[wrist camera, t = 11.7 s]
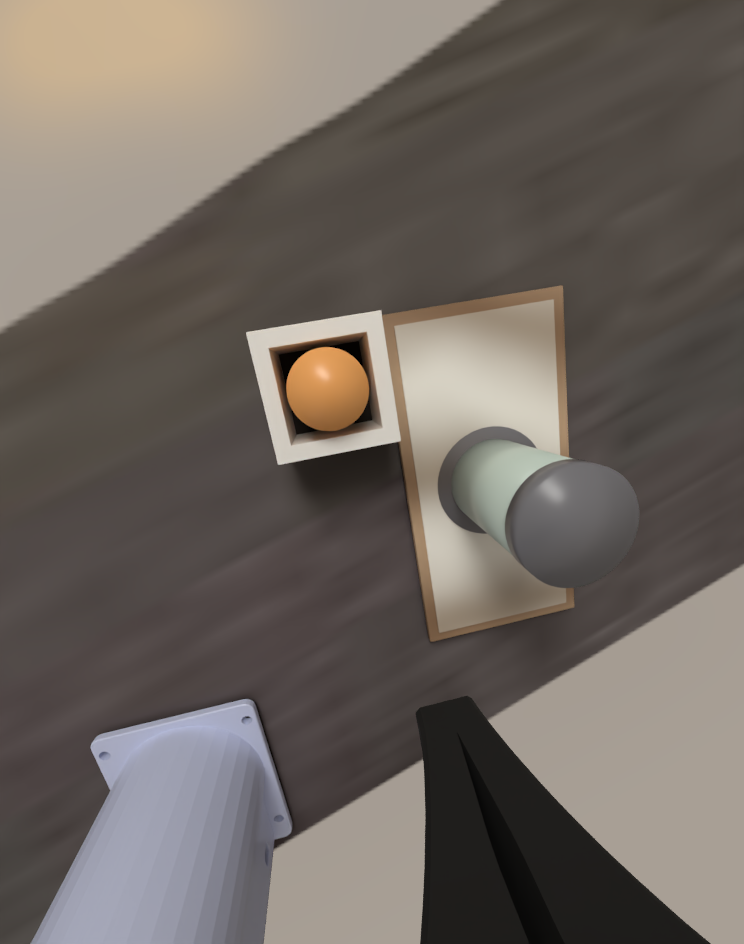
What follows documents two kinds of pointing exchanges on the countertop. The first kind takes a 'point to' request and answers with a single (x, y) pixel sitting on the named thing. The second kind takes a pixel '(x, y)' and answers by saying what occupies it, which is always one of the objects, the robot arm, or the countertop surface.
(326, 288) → the countertop surface
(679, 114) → the countertop surface
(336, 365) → the button
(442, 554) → the sketch pad
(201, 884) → the robot arm
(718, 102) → the countertop surface
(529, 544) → the ink stamp
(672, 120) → the countertop surface
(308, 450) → the button box
